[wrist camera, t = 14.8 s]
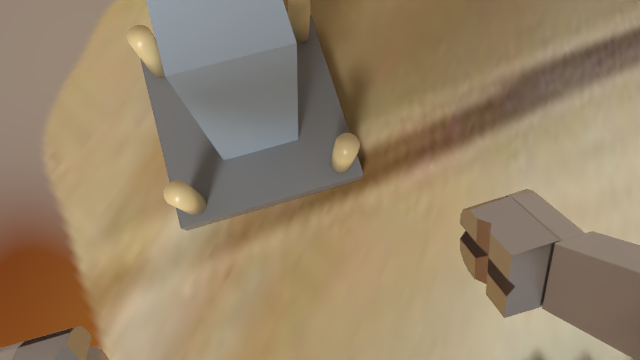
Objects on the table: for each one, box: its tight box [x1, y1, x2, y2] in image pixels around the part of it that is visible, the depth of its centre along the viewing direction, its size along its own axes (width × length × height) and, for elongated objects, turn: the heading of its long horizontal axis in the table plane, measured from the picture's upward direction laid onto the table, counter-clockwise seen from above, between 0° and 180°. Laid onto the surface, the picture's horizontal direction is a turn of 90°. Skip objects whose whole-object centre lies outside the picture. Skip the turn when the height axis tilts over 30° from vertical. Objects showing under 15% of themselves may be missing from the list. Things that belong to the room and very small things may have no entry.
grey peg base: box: [127, 0, 364, 230], centre depth 27 cm, size 12×12×6 cm
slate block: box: [146, 0, 298, 160], centre depth 22 cm, size 5×5×12 cm
